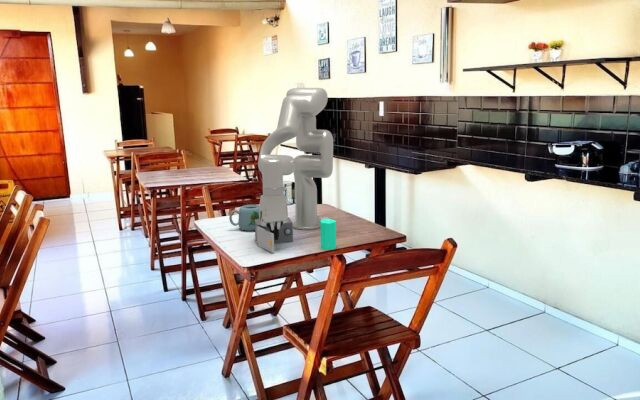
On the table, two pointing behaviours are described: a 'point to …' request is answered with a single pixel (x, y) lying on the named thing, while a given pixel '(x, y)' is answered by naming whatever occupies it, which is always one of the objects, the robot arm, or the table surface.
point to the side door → (265, 239)
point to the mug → (246, 217)
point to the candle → (328, 234)
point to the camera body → (280, 231)
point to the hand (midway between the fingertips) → (274, 239)
